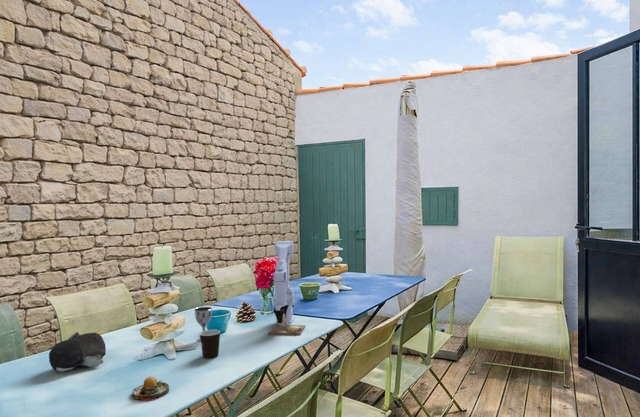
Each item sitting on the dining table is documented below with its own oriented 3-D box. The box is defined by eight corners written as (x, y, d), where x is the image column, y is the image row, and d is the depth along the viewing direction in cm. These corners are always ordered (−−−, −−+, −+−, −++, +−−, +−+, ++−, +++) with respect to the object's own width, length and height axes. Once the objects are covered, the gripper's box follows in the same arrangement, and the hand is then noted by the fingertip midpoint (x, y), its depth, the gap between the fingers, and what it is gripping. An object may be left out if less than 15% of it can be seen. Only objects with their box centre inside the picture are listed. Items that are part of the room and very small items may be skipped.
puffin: (109, 373, 184) (119, 346, 182) (61, 391, 165) (72, 360, 163) (81, 348, 192) (91, 321, 190) (33, 361, 173) (43, 332, 171)
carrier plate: (275, 326, 230) (275, 321, 230) (305, 327, 227) (304, 321, 227) (268, 334, 216) (268, 328, 216) (299, 335, 214) (299, 329, 214)
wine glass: (214, 337, 214) (214, 306, 214) (209, 342, 206) (208, 310, 206) (199, 337, 215) (198, 306, 215) (192, 342, 207) (192, 310, 207)
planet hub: (278, 327, 225) (278, 313, 225) (286, 327, 225) (285, 313, 225) (276, 329, 221) (276, 315, 221) (284, 329, 221) (283, 315, 221)
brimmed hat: (173, 386, 157) (172, 365, 157) (162, 400, 145) (162, 378, 145) (139, 387, 157) (139, 366, 157) (126, 402, 145) (125, 379, 145)
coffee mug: (218, 359, 183) (217, 335, 183) (197, 359, 183) (196, 335, 183) (224, 350, 195) (224, 327, 194) (205, 350, 195) (204, 328, 195)
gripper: (276, 291, 231) (277, 317, 231) (269, 297, 216) (270, 325, 217) (289, 291, 230) (290, 317, 230) (283, 297, 215) (284, 325, 216)
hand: (281, 321), depth 223 cm, fingers open, 7 cm apart
